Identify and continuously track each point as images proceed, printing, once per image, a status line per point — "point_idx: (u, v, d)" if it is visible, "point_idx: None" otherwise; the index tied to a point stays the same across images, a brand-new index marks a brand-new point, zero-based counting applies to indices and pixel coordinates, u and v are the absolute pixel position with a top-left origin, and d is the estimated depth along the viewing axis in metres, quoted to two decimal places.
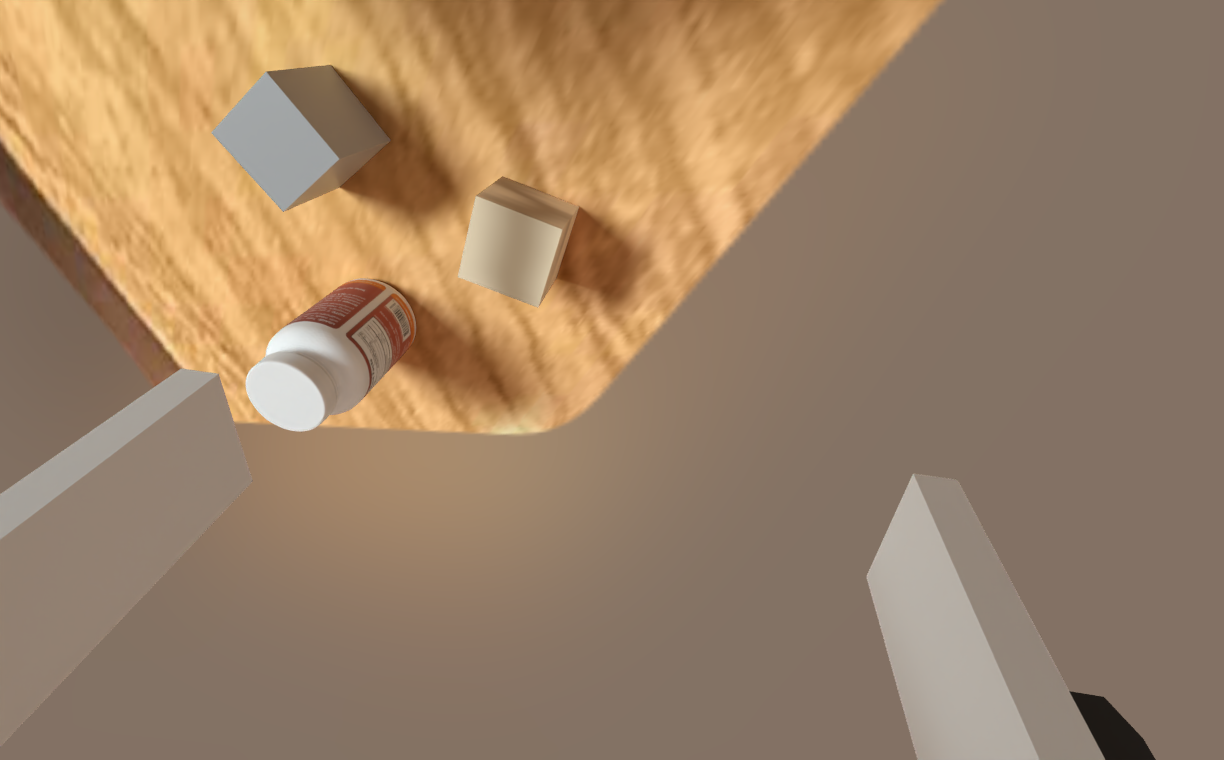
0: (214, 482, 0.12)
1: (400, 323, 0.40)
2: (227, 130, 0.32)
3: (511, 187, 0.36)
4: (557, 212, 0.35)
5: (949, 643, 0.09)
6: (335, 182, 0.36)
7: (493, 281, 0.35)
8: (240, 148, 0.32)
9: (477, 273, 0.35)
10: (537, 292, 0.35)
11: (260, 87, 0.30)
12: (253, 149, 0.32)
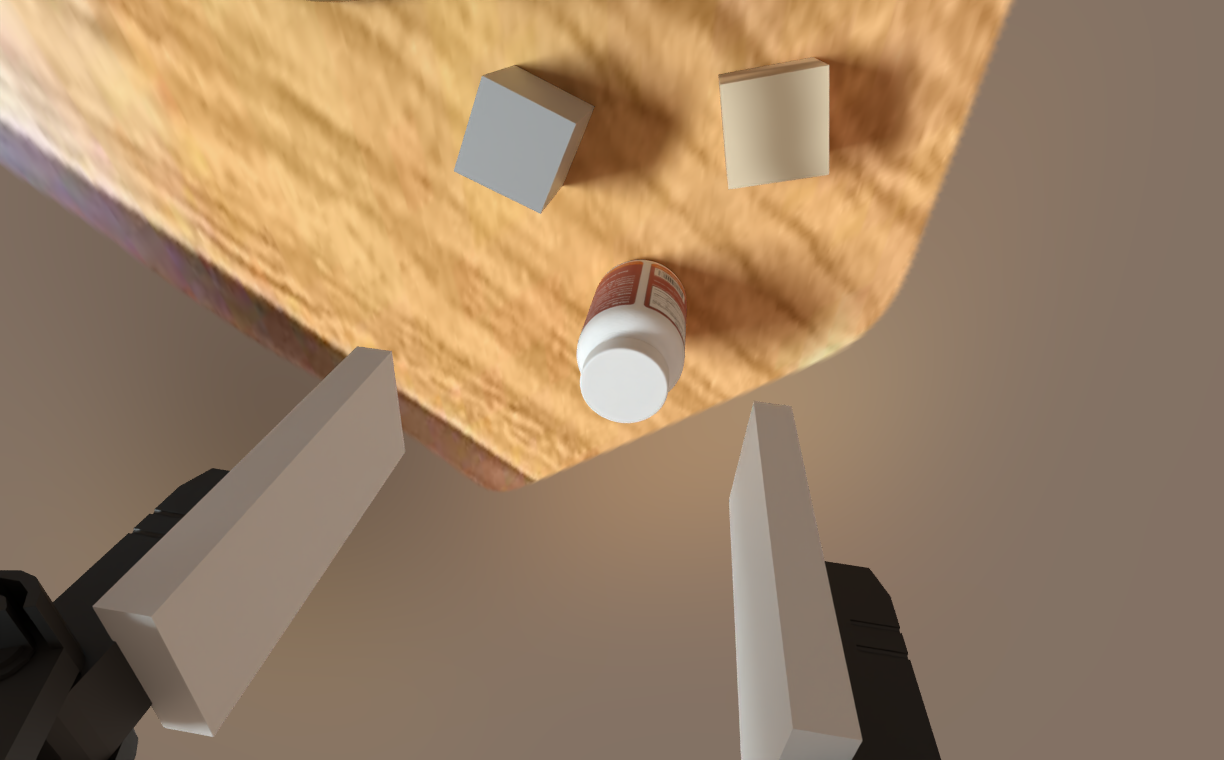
0: (384, 450, 0.13)
1: (674, 286, 0.38)
2: (466, 159, 0.32)
3: (737, 73, 0.32)
4: (803, 64, 0.30)
5: (754, 531, 0.10)
6: (564, 173, 0.35)
7: (769, 172, 0.31)
8: (482, 170, 0.32)
9: (748, 173, 0.31)
10: (822, 157, 0.30)
11: (482, 95, 0.30)
12: (495, 164, 0.31)
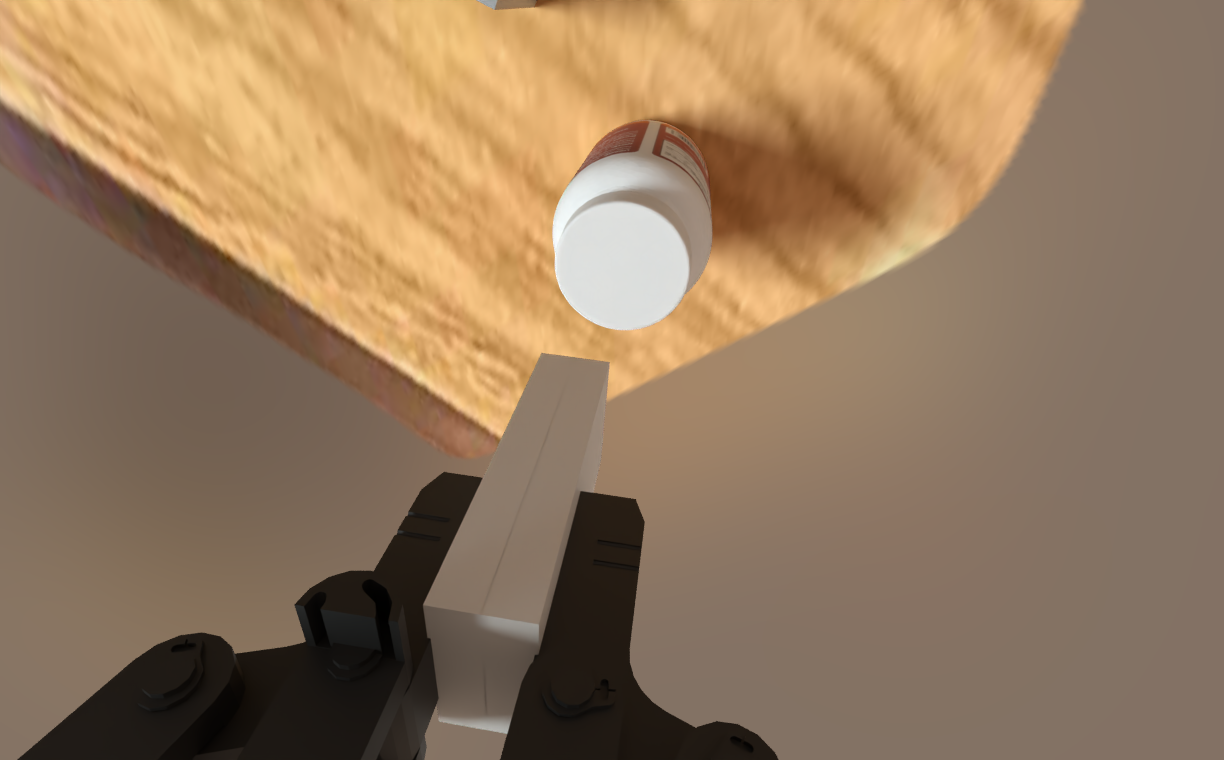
0: None
1: (694, 151, 0.26)
2: None
3: None
4: None
5: None
6: None
7: None
8: None
9: None
10: None
11: None
12: None
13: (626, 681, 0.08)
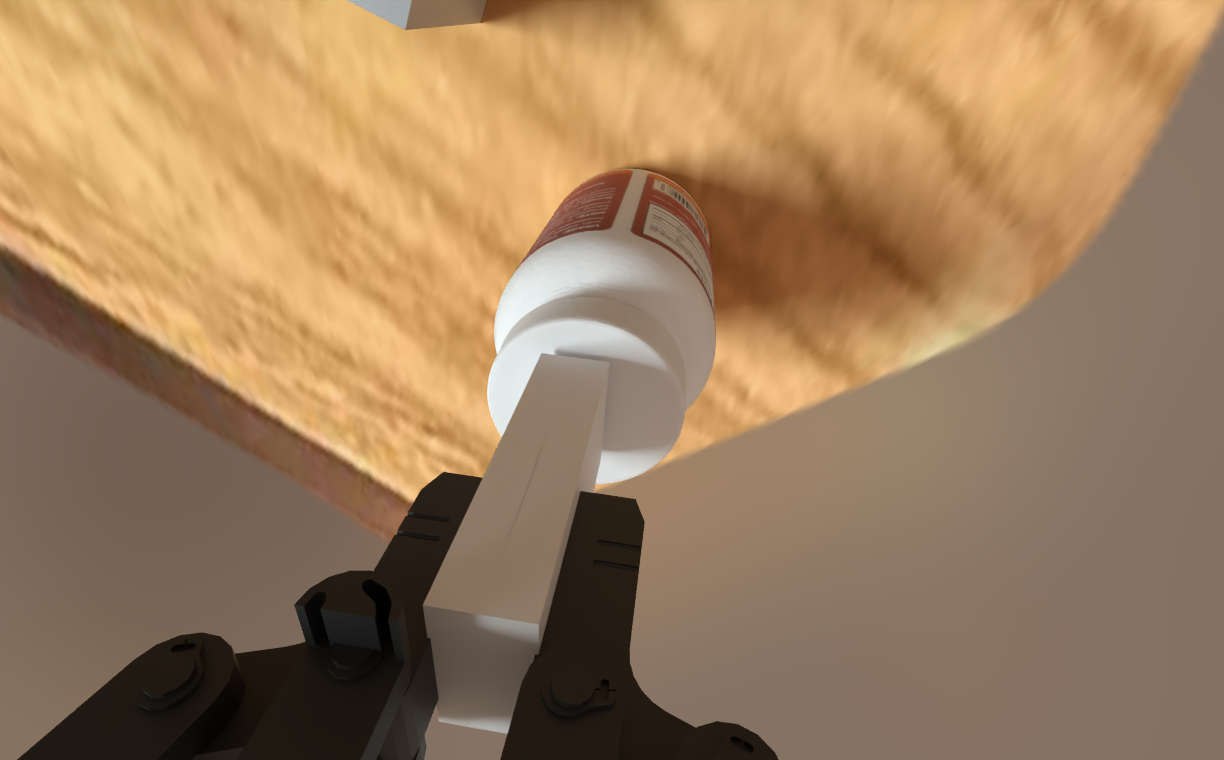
0: None
1: (691, 212, 0.20)
2: None
3: None
4: None
5: None
6: None
7: None
8: None
9: None
10: None
11: None
12: None
13: (626, 681, 0.08)
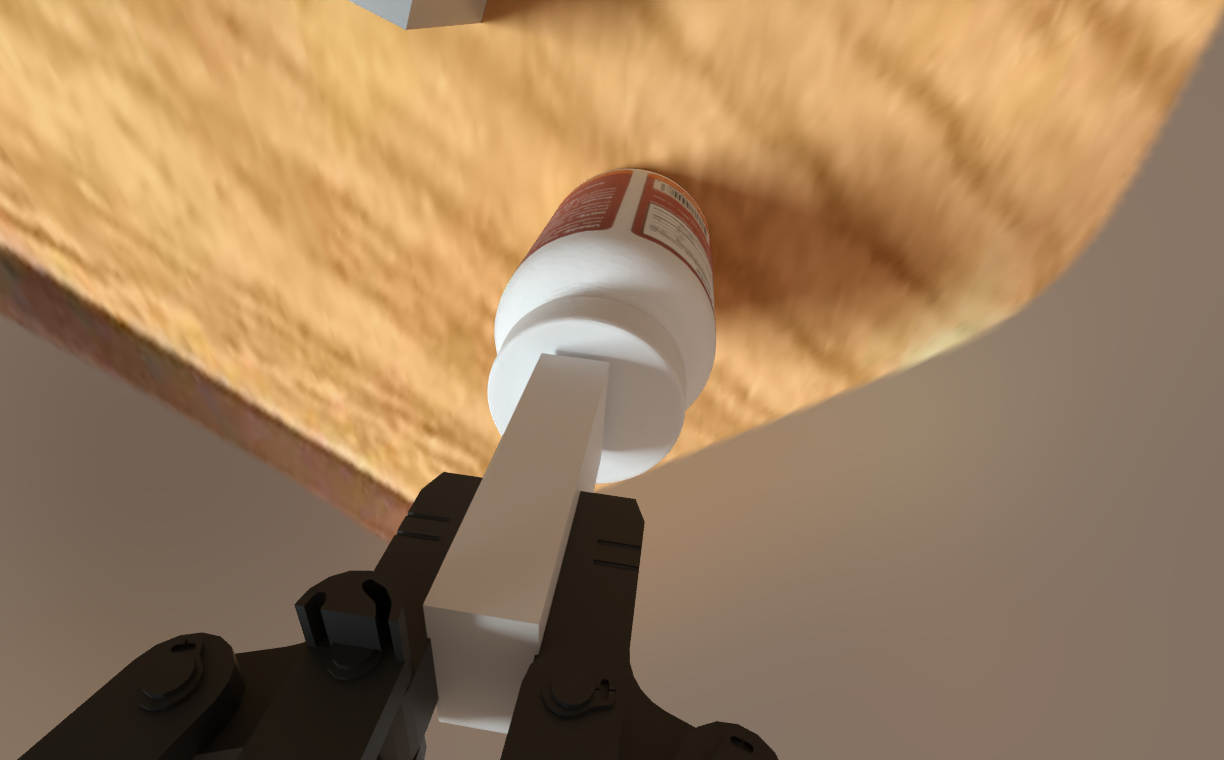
0: None
1: (691, 212, 0.20)
2: None
3: None
4: None
5: None
6: None
7: None
8: None
9: None
10: None
11: None
12: None
13: (626, 681, 0.08)
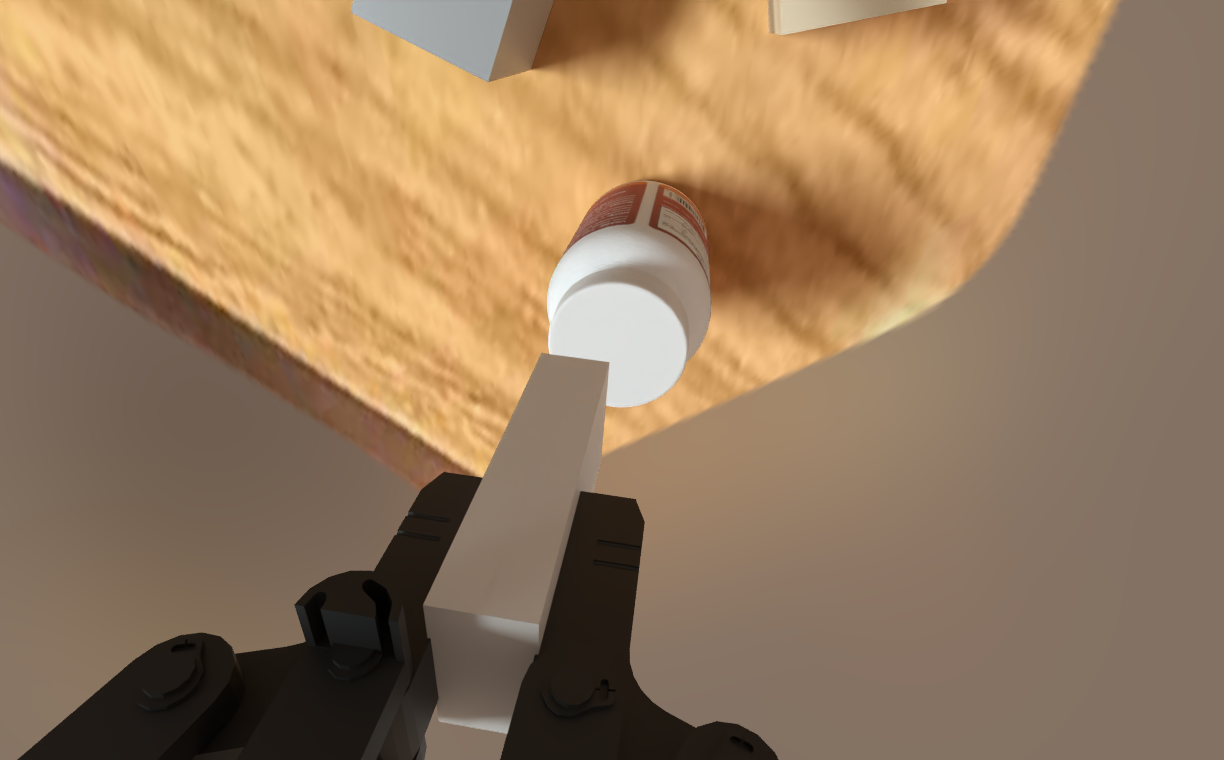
0: None
1: (693, 214, 0.26)
2: None
3: None
4: None
5: None
6: (529, 38, 0.24)
7: (848, 2, 0.19)
8: (395, 10, 0.20)
9: (814, 4, 0.19)
10: None
11: None
12: None
13: (626, 681, 0.08)
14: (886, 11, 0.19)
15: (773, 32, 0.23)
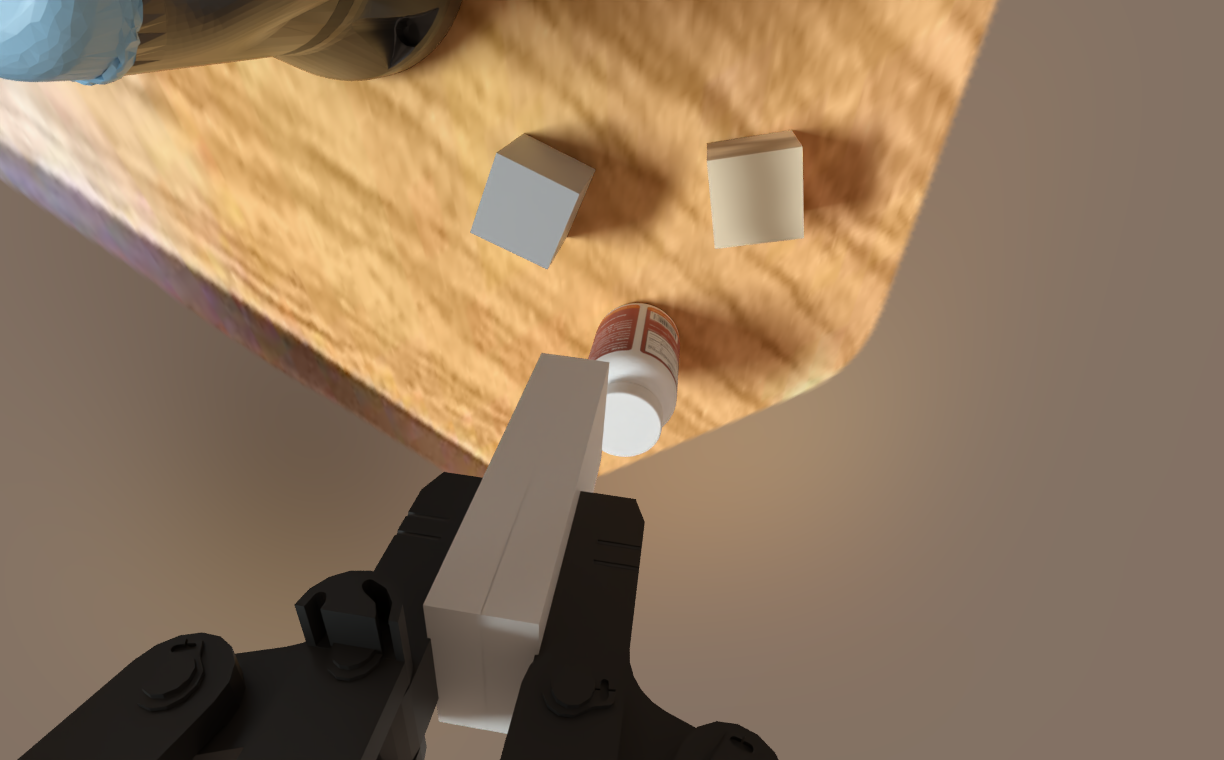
0: None
1: (668, 328, 0.41)
2: (481, 222, 0.35)
3: (723, 145, 0.36)
4: (781, 140, 0.34)
5: None
6: (568, 229, 0.39)
7: (750, 235, 0.35)
8: (496, 232, 0.36)
9: (732, 235, 0.35)
10: (798, 223, 0.34)
11: (496, 169, 0.34)
12: (507, 227, 0.35)
13: (626, 681, 0.08)
14: (771, 240, 0.35)
15: None
